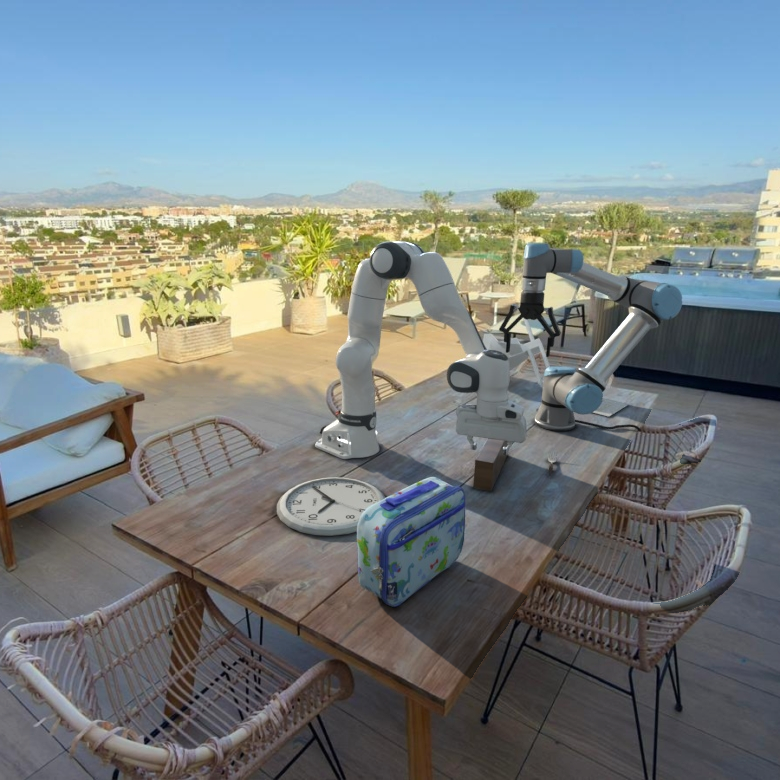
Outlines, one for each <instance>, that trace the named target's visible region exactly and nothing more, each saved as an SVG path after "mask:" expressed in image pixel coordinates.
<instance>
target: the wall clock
mask: <svg viewBox="0 0 780 780" xmlns="http://www.w3.org/2000/svg"><path fill="white" fill-rule="evenodd" d="M385 498H386V496H385V494H384V493H383V492H382V491H381V490H380V489H379V488H377V487H376V486H374V485H372V484H371V483H369V482H365V481H362V480H359V479H355V478H349V477H338V476H337V477H335V476H333V477H332V476H331V477H322V478H317V479H312V480H307V481H305V482H302V483H299V484H297V485H295V486H293V487H292V488H290V489H288V490H287V491H286V492H285V493H284V494H283V495H281V496H280V498H279V499H278V502H277V503H276V515H277V517H278V518H279V520H280V521H281V522H282V523H283V524H285V525H286V526H287V527H288V528H290V529H293V530H295V531H297V532H299V533H303V534H308V535H312V536H327V537H328V536H329V537H331V536H332V537H333V536H342V535H350V534H352V533H357V526H358V522H359V519H360V517H361V515H362V513H363V512H364V511H365V510H366V509H367V508H368V507H369V506H371V505H373V504H375V503H377V502H379V501H381V500H383V499H385Z"/></svg>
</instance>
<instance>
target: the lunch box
mask: <svg viewBox="0 0 780 780" xmlns="http://www.w3.org/2000/svg"><path fill="white" fill-rule="evenodd" d="M465 528H466V494H465V490H464V489H463V487H461V486H458V485H456V486H454V485H451V484H450V483H448V482H446V481H444V480H442V479H440V478H438V477H436V476H430V477H426V478H424V479H421V480H420V481H417V482H415V483H413V484H411V485H409V486H407V487H405V488H402V489H401V490H399V491H396V492H395V493H393V494H390V495H389V496H387V497H385V499H383V500H381V501H379V502H377V503H375V504H373V505H371V506H369V507H368V508H367V509H366V510H365V511H364V512H363V513H362V515H361V517H360V519H359V522H358V526H357V532H356V549H357V550H356V551H357V552H356V553H357V577H358V583H359V585H360V587H361V588H362V589H364V590H366V591H368V592H370V593H372V594H374V595H375V596H377V598H379V599H381V600H382V602H383V603H384V604H385V605H387V606H390V607H393V608H394V607H398V606H400V605H402V604H403V603H404V602H405V601H406V600H408V599H409V598H410V597H411V596H412V595H414V594H416V592H418V591H419V590H420V589H422V588H423V587H424V586H426V585H427V584H428V583H430V582H431V581H432V579H434V578H435V577H436V576H438V575H439V574H440V573H442V572H444V571H446V570H447V569H449V568H450V567H451V566H452V565H454V563H456V561H457V560H458V558H459V557H460V555H461V553H462V550H463V547H464V542H465V530H466V529H465Z"/></svg>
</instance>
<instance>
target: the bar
mask: <svg viewBox="0 0 780 780" xmlns="http://www.w3.org/2000/svg"><path fill="white" fill-rule="evenodd" d="M507 446H508V444H507V441H503V440H495V439H488V438H486V441H484V444H483V446H482V448H481V449H480V451H479V453H478V454H477V456H476V458H475V459H474V471H473V472H474V473H473V487H472V489H475V490H480V491H486V492H492V490H493V488H494V486H495V484H496V481H497V479H498V477H499V475H500V473H501V470H502V468H503V466H504V464H505V462H506V459H507V457H508V455H504V454H503V448H504V447H507Z"/></svg>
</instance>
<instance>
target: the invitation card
mask: <svg viewBox="0 0 780 780" xmlns="http://www.w3.org/2000/svg"><path fill="white" fill-rule="evenodd" d="M602 399H603V401H602V403H601V405H600V406H599V408H598V409H597V410H595V411H594V412H592V413H593V414H596V415H600V416H604V417H608V418H609V417H611V416H613V415H614V414H616V413H617V412H619V411H621V410H623V409H624V408H626V407H628V406H629V404H627V403H623V402H618V401H614V400H609V399H605V398H602ZM592 413H591V414H592Z"/></svg>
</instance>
